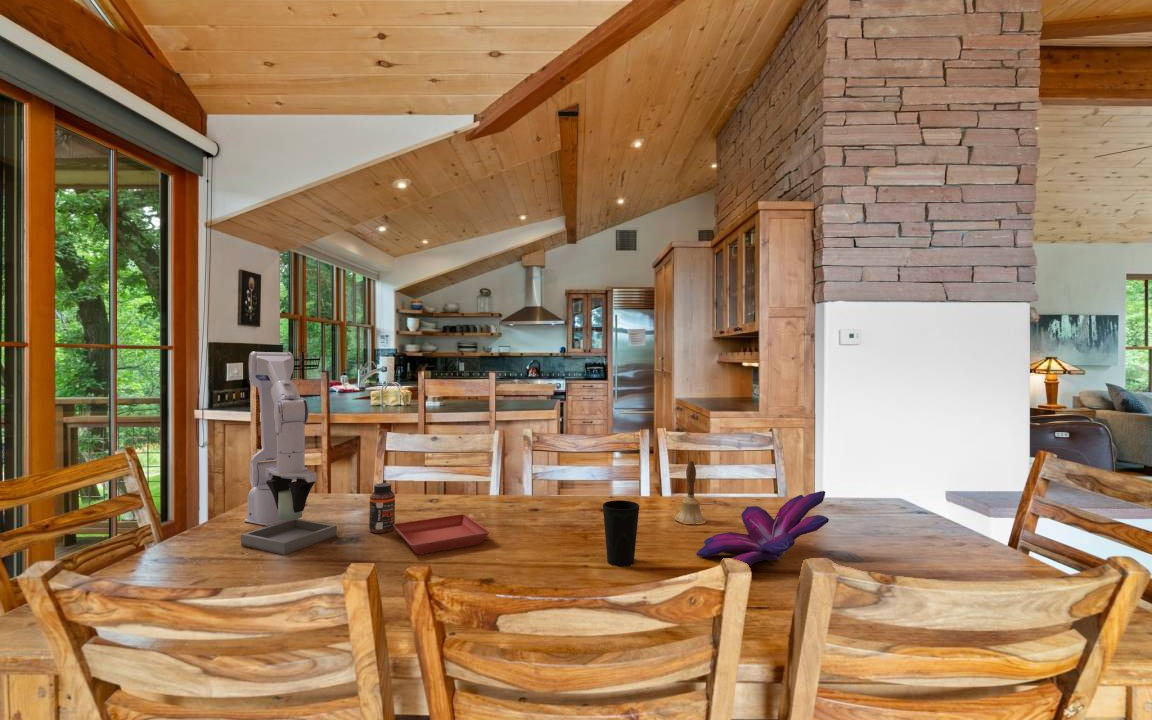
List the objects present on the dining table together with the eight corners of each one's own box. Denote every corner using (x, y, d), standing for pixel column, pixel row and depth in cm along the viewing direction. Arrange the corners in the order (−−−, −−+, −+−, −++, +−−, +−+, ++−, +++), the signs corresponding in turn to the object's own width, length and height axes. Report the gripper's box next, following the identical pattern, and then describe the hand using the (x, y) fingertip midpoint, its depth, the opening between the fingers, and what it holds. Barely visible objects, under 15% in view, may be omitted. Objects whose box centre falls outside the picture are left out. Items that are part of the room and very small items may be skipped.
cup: (600, 555, 119) (600, 500, 119) (635, 554, 119) (635, 499, 119) (605, 569, 111) (605, 510, 111) (642, 568, 112) (642, 509, 112)
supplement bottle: (384, 535, 131) (384, 488, 131) (363, 532, 133) (364, 486, 133) (399, 528, 137) (400, 482, 137) (380, 525, 139) (380, 481, 139)
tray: (241, 545, 123) (241, 534, 123) (295, 528, 136) (295, 518, 136) (284, 554, 118) (284, 543, 118) (336, 536, 131) (336, 525, 131)
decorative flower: (730, 620, 101) (707, 569, 102) (700, 569, 131) (682, 530, 132) (882, 550, 101) (857, 500, 102) (817, 516, 131) (798, 477, 132)
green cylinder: (273, 518, 126) (273, 492, 126) (292, 513, 130) (292, 487, 130) (288, 521, 124) (288, 494, 124) (307, 515, 128) (307, 490, 128)
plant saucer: (392, 536, 132) (392, 522, 132) (464, 525, 141) (464, 512, 141) (411, 560, 116) (411, 545, 116) (490, 546, 125) (491, 531, 125)
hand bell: (713, 522, 144) (713, 461, 144) (690, 527, 140) (691, 464, 140) (689, 514, 151) (690, 457, 151) (667, 519, 146) (668, 459, 146)
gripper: (327, 451, 128) (327, 509, 128) (284, 446, 134) (284, 502, 134) (301, 455, 121) (301, 517, 121) (257, 451, 127) (256, 509, 127)
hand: (290, 510), depth 127 cm, fingers closed on green cylinder, 5 cm apart
